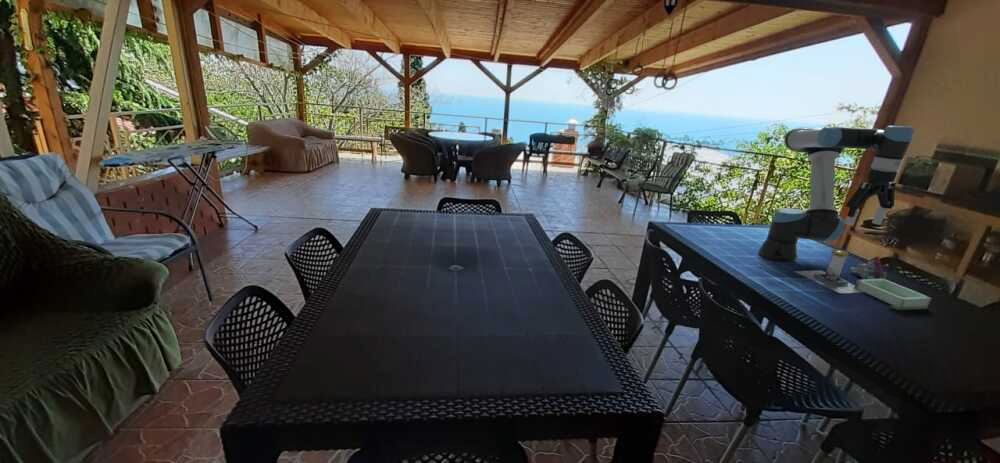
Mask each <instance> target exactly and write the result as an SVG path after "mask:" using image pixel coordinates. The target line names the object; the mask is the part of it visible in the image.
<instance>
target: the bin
mask: <svg viewBox="0 0 1000 463" xmlns="http://www.w3.org/2000/svg"><path fill="white" fill-rule="evenodd" d="M854 285H855V286H854V288H856V289H859V290H861V291H863V292H862V293H865V294H867V295H870V296H871V297H875V298H876V299H878V300H880V301H883V302H885V303H887V304H888V307H890V308H892V309H894V310H897V311H908V310H926V309H928V306H929V304H930V302H931V300H932V297H930V296H927V295H925V294H922V293H920V292H918V291H916V290H913V289H910V288H908V287H906V286H903V285H900V284H897V283H895V282H894V281H893V282H892V281H890V280H887V278H886V279H862V278H861V279H856V281H855V284H854Z"/></svg>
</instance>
